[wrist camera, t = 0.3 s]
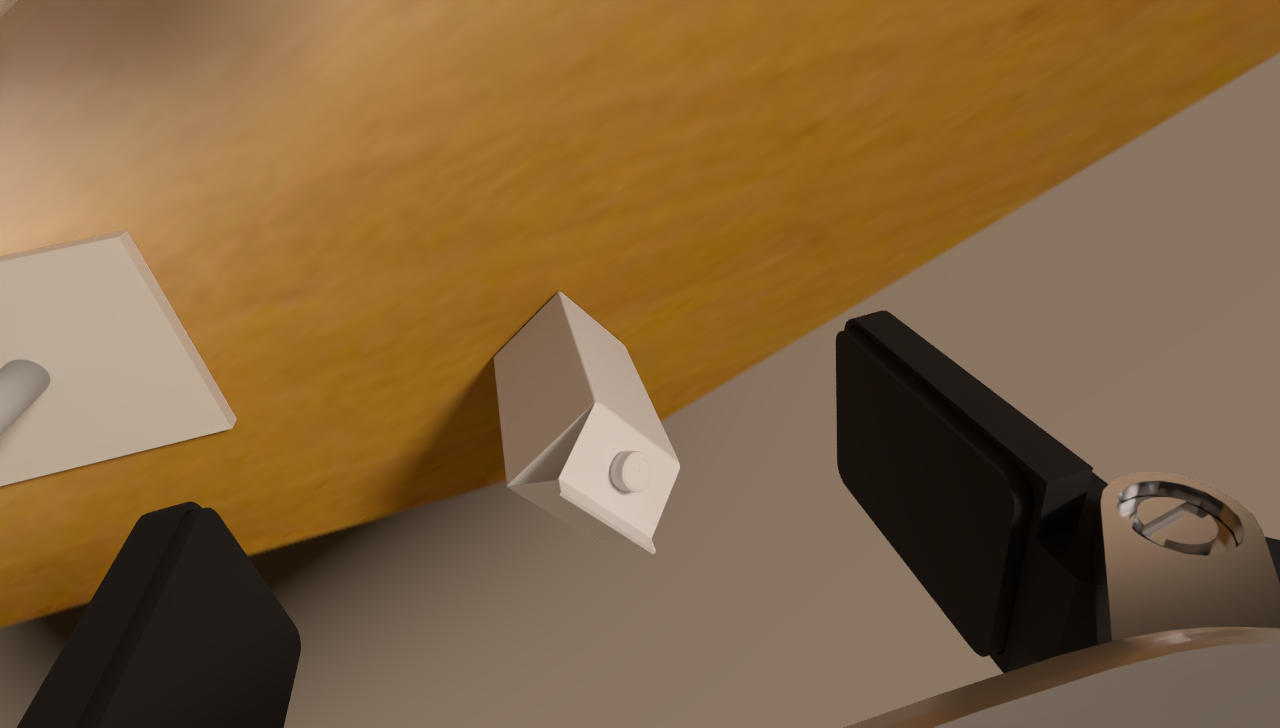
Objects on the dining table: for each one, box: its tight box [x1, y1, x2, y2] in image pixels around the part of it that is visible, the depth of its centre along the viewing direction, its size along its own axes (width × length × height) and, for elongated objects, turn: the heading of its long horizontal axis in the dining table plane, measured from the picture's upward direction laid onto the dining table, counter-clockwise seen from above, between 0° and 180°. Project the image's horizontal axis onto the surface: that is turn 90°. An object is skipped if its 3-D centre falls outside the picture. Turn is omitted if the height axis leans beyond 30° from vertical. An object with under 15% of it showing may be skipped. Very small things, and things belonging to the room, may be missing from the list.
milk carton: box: [494, 292, 680, 554], centre depth 42 cm, size 7×7×19 cm
